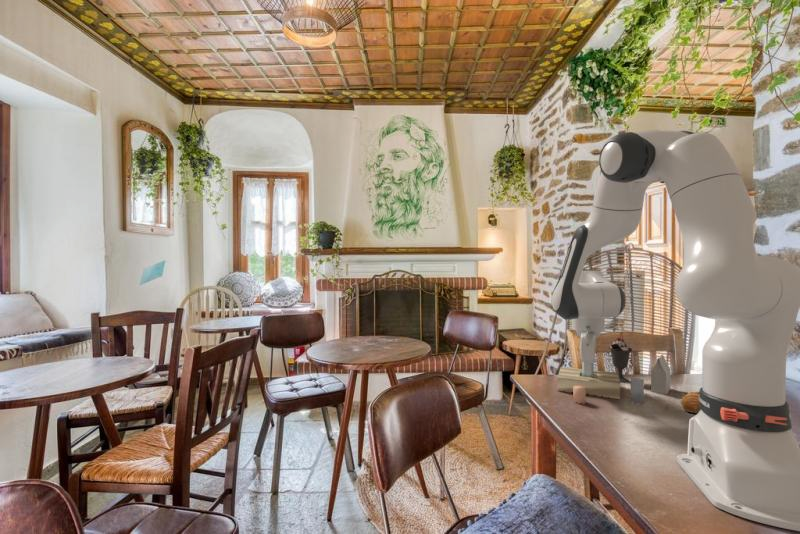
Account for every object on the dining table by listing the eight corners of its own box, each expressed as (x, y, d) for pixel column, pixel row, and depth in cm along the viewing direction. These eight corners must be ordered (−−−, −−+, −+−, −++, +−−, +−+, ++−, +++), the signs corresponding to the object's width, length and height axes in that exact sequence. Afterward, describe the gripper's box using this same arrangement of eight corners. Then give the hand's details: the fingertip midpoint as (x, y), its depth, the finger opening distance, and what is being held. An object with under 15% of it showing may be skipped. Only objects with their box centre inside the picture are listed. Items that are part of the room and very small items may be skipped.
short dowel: (585, 404, 102) (585, 389, 102) (573, 403, 103) (572, 388, 103) (585, 401, 105) (585, 386, 105) (573, 399, 106) (573, 385, 106)
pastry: (710, 419, 93) (710, 403, 93) (676, 412, 97) (676, 397, 97) (715, 408, 99) (715, 393, 99) (683, 402, 104) (683, 388, 104)
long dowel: (593, 390, 113) (593, 363, 113) (582, 389, 114) (582, 362, 114) (593, 387, 115) (593, 361, 115) (582, 386, 117) (582, 360, 117)
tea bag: (670, 388, 114) (670, 355, 114) (666, 394, 109) (666, 359, 109) (655, 386, 116) (655, 353, 116) (650, 392, 111) (650, 357, 111)
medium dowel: (644, 404, 102) (644, 381, 102) (631, 402, 103) (631, 380, 103) (643, 400, 105) (643, 378, 105) (630, 398, 106) (630, 377, 106)
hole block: (620, 399, 106) (620, 384, 106) (557, 390, 113) (557, 377, 113) (617, 386, 117) (617, 372, 116) (560, 379, 124) (560, 366, 124)
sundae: (625, 376, 125) (625, 331, 125) (636, 383, 119) (636, 335, 118) (604, 376, 126) (604, 330, 126) (614, 383, 119) (613, 334, 119)
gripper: (600, 330, 104) (600, 381, 104) (599, 319, 122) (599, 363, 122) (574, 329, 107) (575, 378, 107) (577, 318, 125) (577, 361, 125)
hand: (588, 370), depth 115 cm, fingers open, 8 cm apart
